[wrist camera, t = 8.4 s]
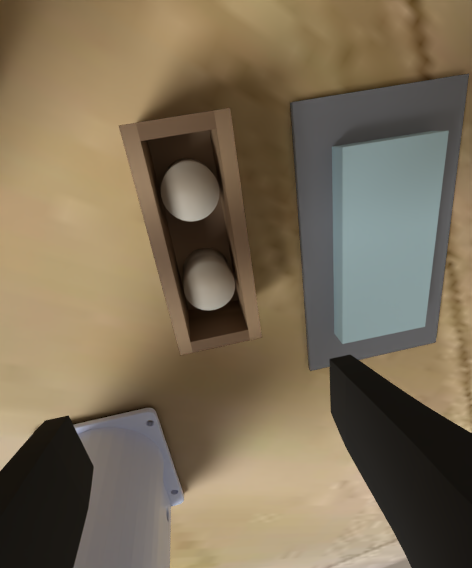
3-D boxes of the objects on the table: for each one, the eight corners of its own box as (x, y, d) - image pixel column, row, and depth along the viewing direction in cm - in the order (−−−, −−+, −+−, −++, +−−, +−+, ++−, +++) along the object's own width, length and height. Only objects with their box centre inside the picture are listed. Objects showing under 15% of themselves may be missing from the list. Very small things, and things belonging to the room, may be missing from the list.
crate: (246, 301, 20) (261, 337, 16) (179, 315, 20) (180, 355, 16) (218, 114, 16) (229, 107, 12) (132, 128, 15) (118, 125, 12)
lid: (412, 317, 22) (425, 326, 21) (334, 333, 22) (342, 344, 20) (431, 130, 17) (448, 130, 16) (331, 146, 17) (342, 147, 16)
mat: (432, 339, 23) (435, 342, 23) (309, 368, 23) (310, 370, 22) (464, 74, 17) (468, 73, 16) (290, 102, 16) (292, 102, 16)
